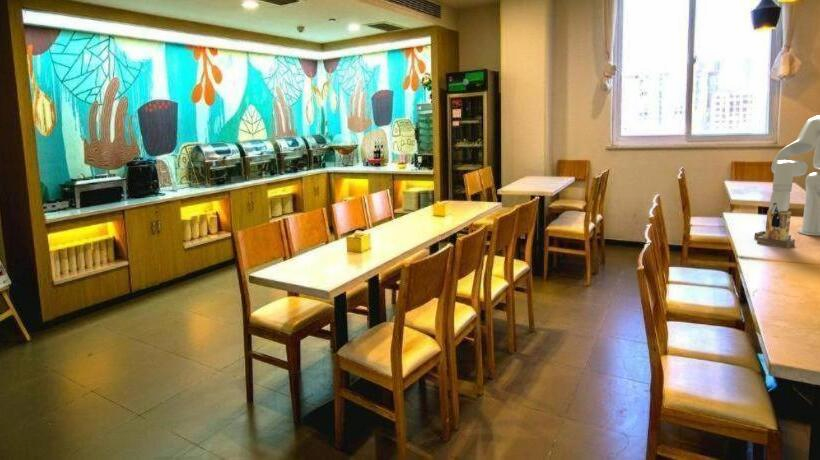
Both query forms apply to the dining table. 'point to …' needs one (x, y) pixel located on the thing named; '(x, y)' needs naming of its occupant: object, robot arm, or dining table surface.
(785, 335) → the dining table surface
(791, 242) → the holder
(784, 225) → the candy box
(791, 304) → the dining table surface
